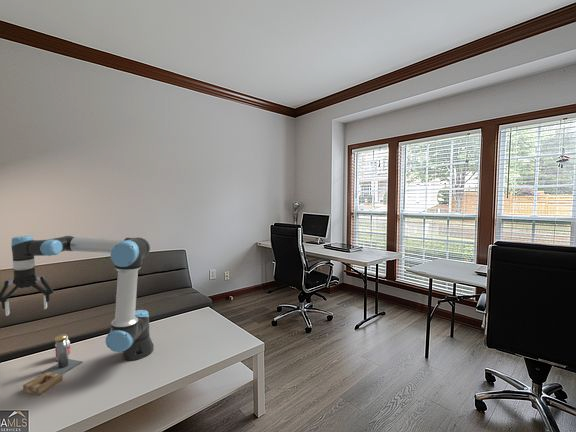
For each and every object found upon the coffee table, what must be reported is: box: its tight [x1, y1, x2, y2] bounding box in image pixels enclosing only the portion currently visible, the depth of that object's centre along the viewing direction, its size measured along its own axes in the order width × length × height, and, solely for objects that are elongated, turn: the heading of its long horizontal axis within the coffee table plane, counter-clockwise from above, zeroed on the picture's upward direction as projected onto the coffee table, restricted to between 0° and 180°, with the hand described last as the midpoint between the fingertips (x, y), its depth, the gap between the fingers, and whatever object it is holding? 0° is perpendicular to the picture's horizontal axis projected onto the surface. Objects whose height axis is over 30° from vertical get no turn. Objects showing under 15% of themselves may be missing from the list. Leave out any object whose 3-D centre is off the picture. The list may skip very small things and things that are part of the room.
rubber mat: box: [43, 358, 83, 376], centre depth 139 cm, size 11×11×1 cm
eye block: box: [22, 372, 64, 396], centre depth 124 cm, size 10×10×3 cm
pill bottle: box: [54, 335, 72, 361], centre depth 147 cm, size 6×6×11 cm
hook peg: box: [54, 333, 69, 368], centre depth 138 cm, size 5×5×16 cm
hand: (27, 311), depth 133 cm, fingers open, 13 cm apart
